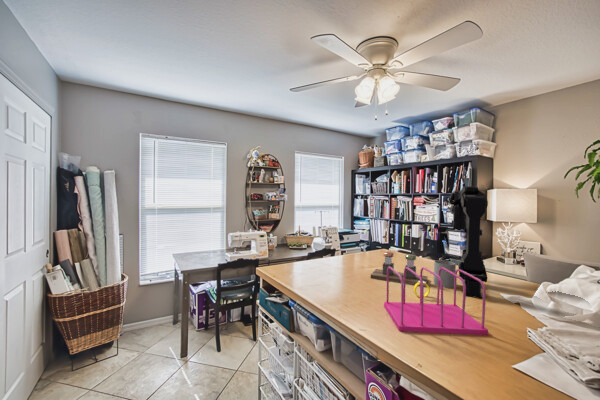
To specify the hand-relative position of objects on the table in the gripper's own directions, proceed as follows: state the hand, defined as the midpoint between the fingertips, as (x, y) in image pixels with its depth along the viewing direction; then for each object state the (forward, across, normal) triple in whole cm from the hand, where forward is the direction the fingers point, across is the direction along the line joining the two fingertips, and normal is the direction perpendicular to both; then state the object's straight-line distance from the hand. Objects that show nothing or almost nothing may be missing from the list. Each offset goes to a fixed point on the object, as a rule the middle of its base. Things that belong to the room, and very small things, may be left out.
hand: (459, 247), depth 131 cm
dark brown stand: (+14, +22, +23) cm, 35 cm away
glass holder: (+15, -7, +12) cm, 20 cm away
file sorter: (+15, +1, +60) cm, 61 cm away
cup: (+15, +4, +18) cm, 24 cm away
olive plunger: (+9, +17, +23) cm, 30 cm away
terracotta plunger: (+9, +27, +24) cm, 37 cm away
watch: (+15, +8, +40) cm, 44 cm away
